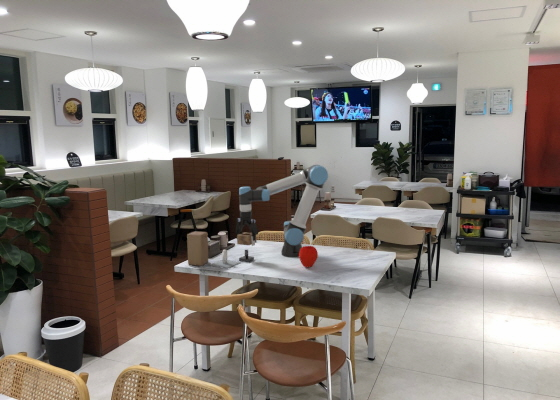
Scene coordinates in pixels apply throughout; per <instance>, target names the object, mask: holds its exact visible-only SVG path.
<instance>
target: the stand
mask: <svg viewBox="0 0 560 400" xmlns="http://www.w3.org/2000/svg"><path fill="white" fill-rule="evenodd" d="M254 260H255V257H254V256H250V255H249V249H244V256H243V255H242V256H241V257H239V258H238V262H244V263H250V262H253V261H254Z"/></svg>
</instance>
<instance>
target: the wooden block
mask: <svg viewBox="0 0 560 400" xmlns="http://www.w3.org/2000/svg"><path fill="white" fill-rule="evenodd" d="M208 235H209V234H208V232H207V231H196V230H195V231H191V232H189V233H187V234H186V238H187V240H186V243H187V247H186V248H187V264H188V265H189V266H190V265H191V266H196V267H197V266H199V267H202V266H204V265H205V264H207V263H209V240H208V239H209V237H208Z"/></svg>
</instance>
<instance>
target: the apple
mask: <svg viewBox="0 0 560 400" xmlns="http://www.w3.org/2000/svg"><path fill="white" fill-rule="evenodd" d="M318 255H319V254H318V249H317V248H316V247H315V246H314V245H313V246H312V245H305V246H302V248H301V249H300V252H299V262H300V264H301V265H302V266H303V267H304V268H311V267H313V266H314V265H315V263H317V260H318Z"/></svg>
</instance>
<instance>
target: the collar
mask: <svg viewBox="0 0 560 400" xmlns="http://www.w3.org/2000/svg"><path fill="white" fill-rule="evenodd" d="M251 236H252V233H251V232H241V234H239V235H238V234H237V235H236V241H237V243H236V244H237V245H241V246H250V245H251V246H252V241H251ZM255 244H257V239H256V240H255Z"/></svg>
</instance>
